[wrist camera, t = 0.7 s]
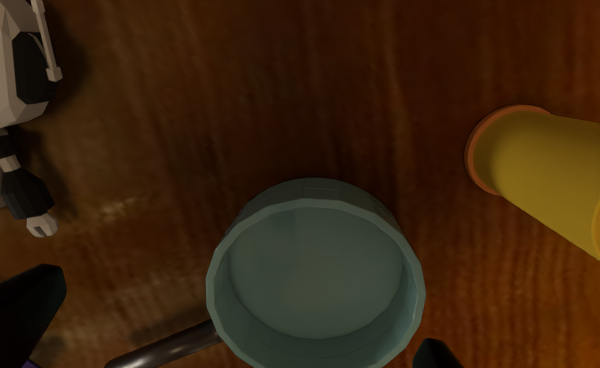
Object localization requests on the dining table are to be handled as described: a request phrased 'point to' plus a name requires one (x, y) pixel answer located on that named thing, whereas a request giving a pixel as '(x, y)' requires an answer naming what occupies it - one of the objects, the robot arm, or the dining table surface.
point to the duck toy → (541, 168)
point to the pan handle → (169, 348)
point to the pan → (315, 279)
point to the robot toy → (25, 107)
